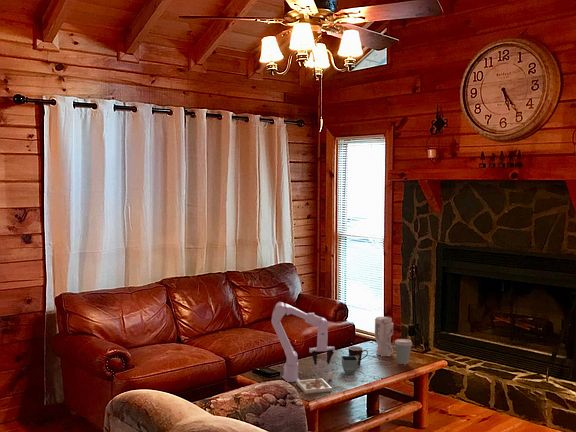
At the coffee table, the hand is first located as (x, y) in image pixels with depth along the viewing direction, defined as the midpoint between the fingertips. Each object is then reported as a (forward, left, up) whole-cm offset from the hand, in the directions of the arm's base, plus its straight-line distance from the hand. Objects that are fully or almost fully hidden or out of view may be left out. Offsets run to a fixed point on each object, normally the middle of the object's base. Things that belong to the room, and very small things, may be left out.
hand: (321, 363), depth 345 cm
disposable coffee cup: (-15, +59, -10) cm, 62 cm away
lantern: (-34, +55, -10) cm, 65 cm away
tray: (+10, -8, -9) cm, 16 cm away
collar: (+12, -8, -8) cm, 16 cm away
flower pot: (-7, +20, -10) cm, 23 cm away
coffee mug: (-20, +31, -10) cm, 38 cm away
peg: (+1, +5, -9) cm, 11 cm away
